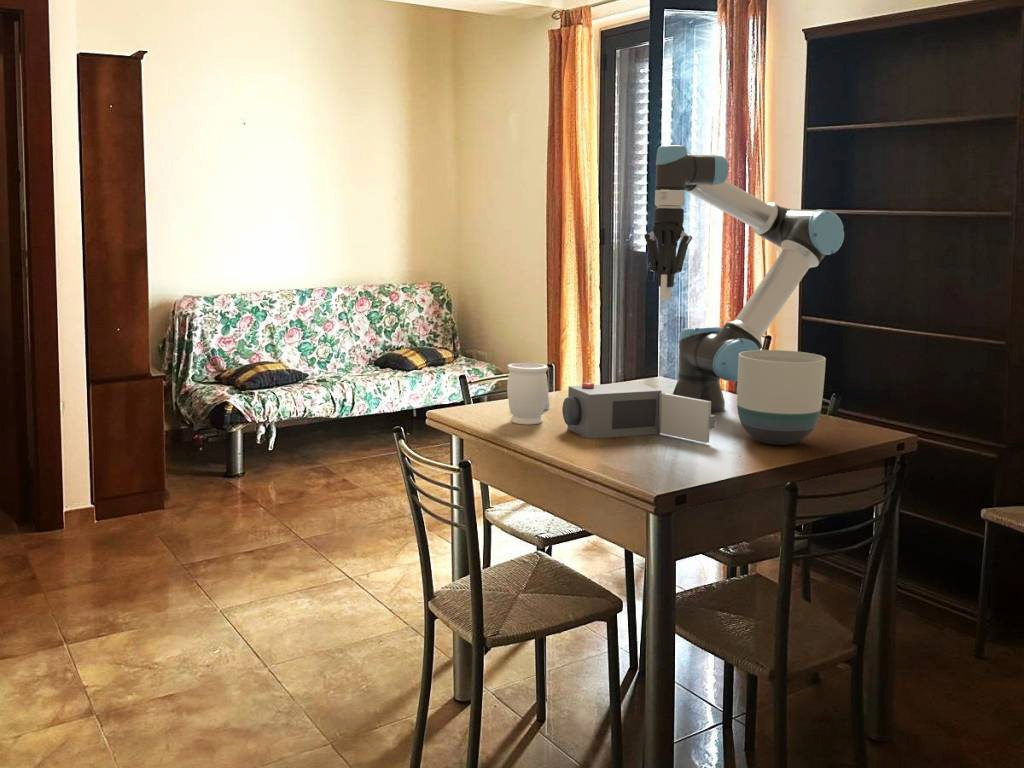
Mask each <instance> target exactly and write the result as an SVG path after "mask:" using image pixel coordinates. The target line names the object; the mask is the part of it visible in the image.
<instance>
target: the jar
mask: <svg viewBox="0 0 1024 768" xmlns="http://www.w3.org/2000/svg"><path fill="white" fill-rule="evenodd" d="M507 369H508V371H509V372H508V373H509V374H508V377H507V382H506V383H507V384H506V385H507V387H506V388H507V392H506V393H507V399H508V406H509V411H510V413H511V414H512V415H511V418H510V422H511V423H513V424H516V425H517V424H518V425H524V426H525V425H526V426H530V425H531V426H532V425H538V424H539V425H540V424H542V423H543V421H544V420H543V418H542V415H543V413H544V411H545V410H544V408H545V402H546V397H547V390H548V391H549V388H548V385H549V384H548V377H547V374H546V373H547V371H548V370H549V368H548V365H546V364H541V363H537V362H514V363H509V364H507Z"/></svg>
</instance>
